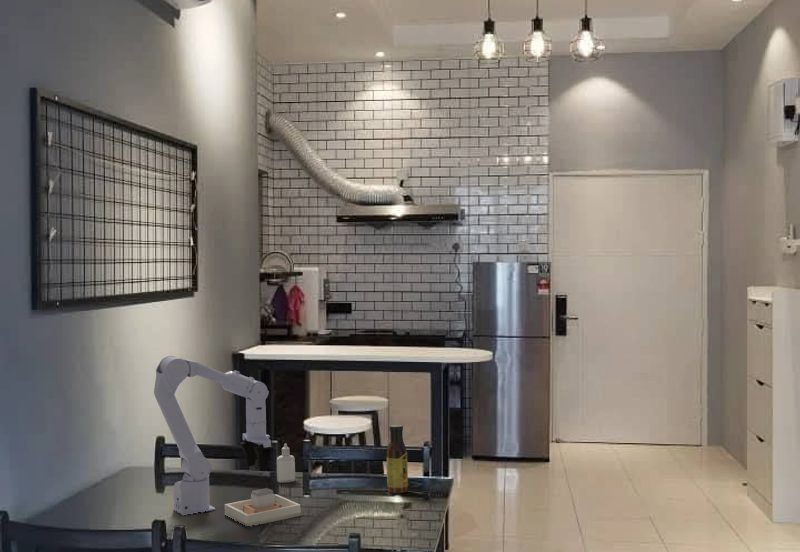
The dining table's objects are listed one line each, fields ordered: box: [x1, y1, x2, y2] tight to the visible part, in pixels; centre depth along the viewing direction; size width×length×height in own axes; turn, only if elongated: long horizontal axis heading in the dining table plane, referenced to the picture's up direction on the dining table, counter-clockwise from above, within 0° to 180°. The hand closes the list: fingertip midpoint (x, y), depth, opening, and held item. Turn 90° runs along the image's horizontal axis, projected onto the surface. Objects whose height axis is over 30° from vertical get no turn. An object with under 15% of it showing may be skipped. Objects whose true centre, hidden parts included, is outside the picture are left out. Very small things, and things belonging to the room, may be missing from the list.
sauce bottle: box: [386, 424, 409, 495], centre depth 252 cm, size 7×6×20 cm
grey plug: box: [250, 487, 275, 510], centre depth 230 cm, size 5×4×6 cm
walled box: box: [224, 493, 302, 527], centre depth 230 cm, size 16×14×3 cm
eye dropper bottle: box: [276, 443, 296, 484], centre depth 267 cm, size 4×6×12 cm
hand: (257, 468), depth 245 cm, fingers open, 7 cm apart
